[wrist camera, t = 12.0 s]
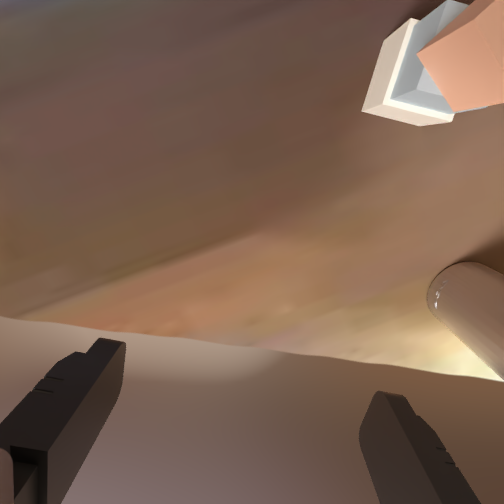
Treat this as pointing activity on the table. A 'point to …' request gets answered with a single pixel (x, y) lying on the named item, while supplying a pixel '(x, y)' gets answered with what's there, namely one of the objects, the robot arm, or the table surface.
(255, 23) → the table surface
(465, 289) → the robot arm
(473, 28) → the terracotta block
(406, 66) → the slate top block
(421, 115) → the cream base block
